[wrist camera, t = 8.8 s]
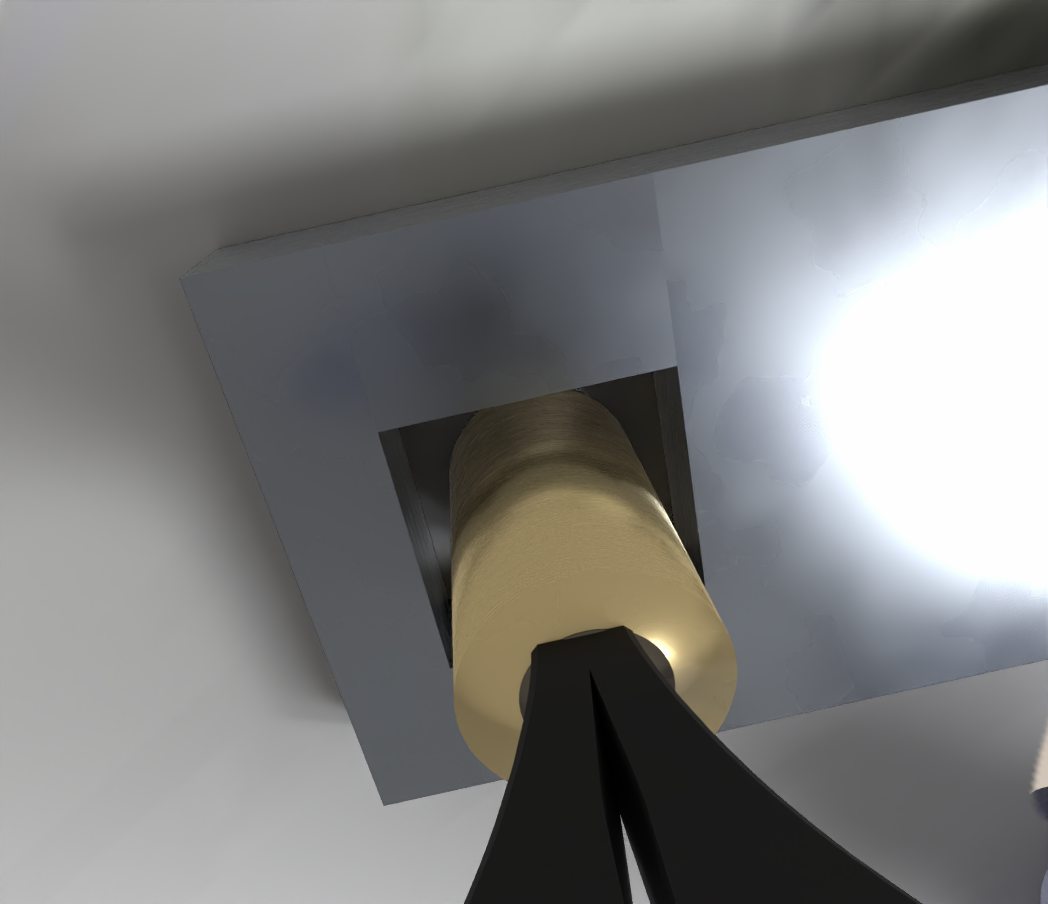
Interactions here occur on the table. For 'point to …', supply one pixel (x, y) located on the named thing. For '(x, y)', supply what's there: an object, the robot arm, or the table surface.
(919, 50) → the table surface
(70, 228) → the table surface
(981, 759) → the table surface
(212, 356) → the plate
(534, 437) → the brass bushing
